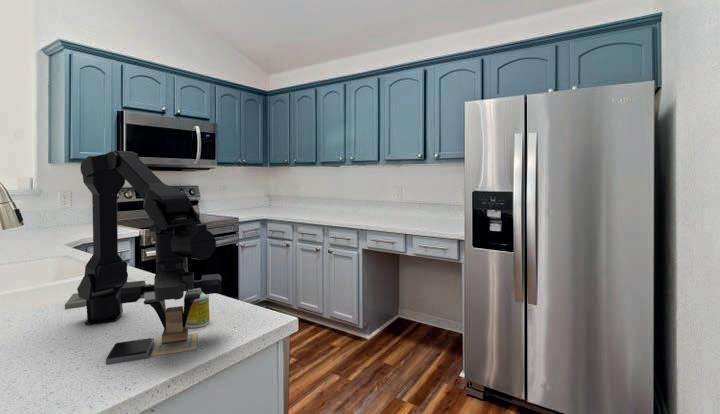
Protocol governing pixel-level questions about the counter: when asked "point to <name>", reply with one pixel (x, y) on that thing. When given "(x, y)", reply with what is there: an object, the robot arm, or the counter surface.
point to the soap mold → (80, 301)
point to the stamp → (174, 326)
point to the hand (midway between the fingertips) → (175, 327)
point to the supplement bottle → (199, 312)
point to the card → (175, 345)
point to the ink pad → (130, 351)
